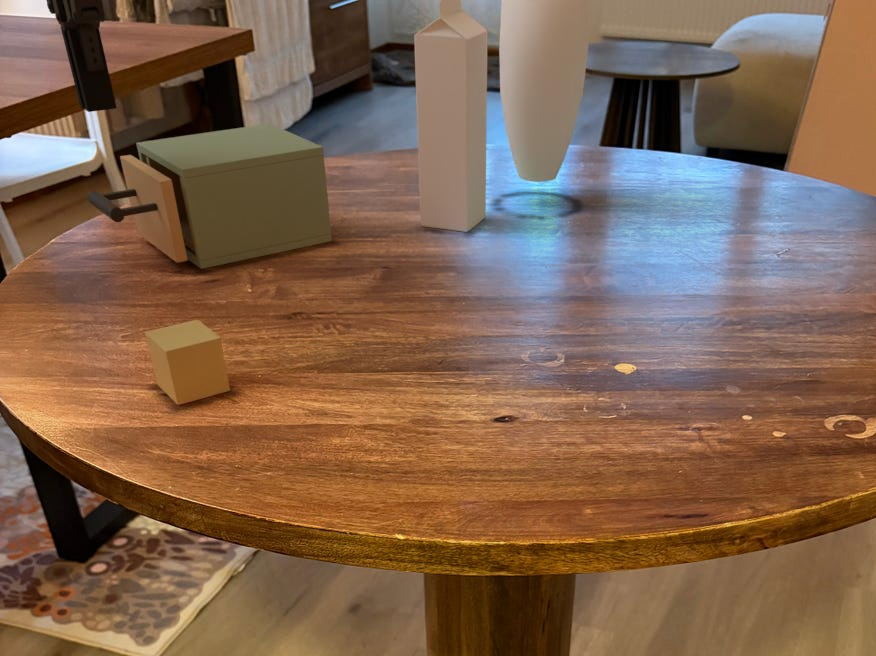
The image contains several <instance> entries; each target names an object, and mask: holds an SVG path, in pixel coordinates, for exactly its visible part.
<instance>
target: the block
mask: <svg viewBox="0 0 876 656" xmlns="http://www.w3.org/2000/svg"><path fill="white" fill-rule="evenodd" d="M144 336H145V340H146V344H147V348H148V353H149V356H150V361H151V365H152V370H153V374H154V378H155V381H156V385H157V386H158V387H159V388H160V389H161V390H162V391H163V392H164V393H165V395H167V397H169V398H170V399H171V400H172V401H173V402H174V403H175V404H176V405H177V406H180V405H184V404H188V403H191V402H194V401H199V400H202V399H205V398H209V397H213V396H216V395H220V394H223V393H227V392H230V391H231V387H230V381H229V377H228V371H227V366H226V360H225V355H224V350H223V344H222V339H221V337H220V336H219V335H218V334H216V333H215V332H214V331H213V330H212V329H211V328H209V327H208V326H207V325H206V324H204V323H203V322H202V321H201V320H199V319H193V320H189V321H184V322H181V323H177V324H172V325H169V326H164V327H160V328H156V329H152V330H151V329H150V330H147V331H144Z"/></svg>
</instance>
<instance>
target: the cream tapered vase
mask: <svg viewBox="0 0 876 656" xmlns="http://www.w3.org/2000/svg"><path fill="white" fill-rule="evenodd" d="M590 12H591V0H501V5H500V25H499V26H500V27H499V43H498V45H499V46H498V48H499V49H498V50H499V51H498V52H499V53H498V54H499V92H500V100H501V107H502V114H503V120H504V127H505V133H506V139H507V142H508V145H509V148H510V153H511V157H512V161H513V164H514V166H515V169H516V172H517V175H518V177H519V179H521V180H522V181H523V180H524V181H527V182H534V183H535V182H536V183H542V182H543V183H545V182H550V181H554V180H556V179H557V177H558V174H559V172H560V170H561V168H562V165H563V164H564V161H565V158H566V156H567V153H568V150H569V147H570V144H571V141H572V139H573V135H574V132H575V127H576V124H577V119H578V116H579V112H580V108H581V107H580V106H581V103H582V98H583V95H584V87H585V79H586V70H587V61H588V53H589V39H590V38H589V37H590V35H589V34H590V15H591V13H590Z"/></svg>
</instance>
